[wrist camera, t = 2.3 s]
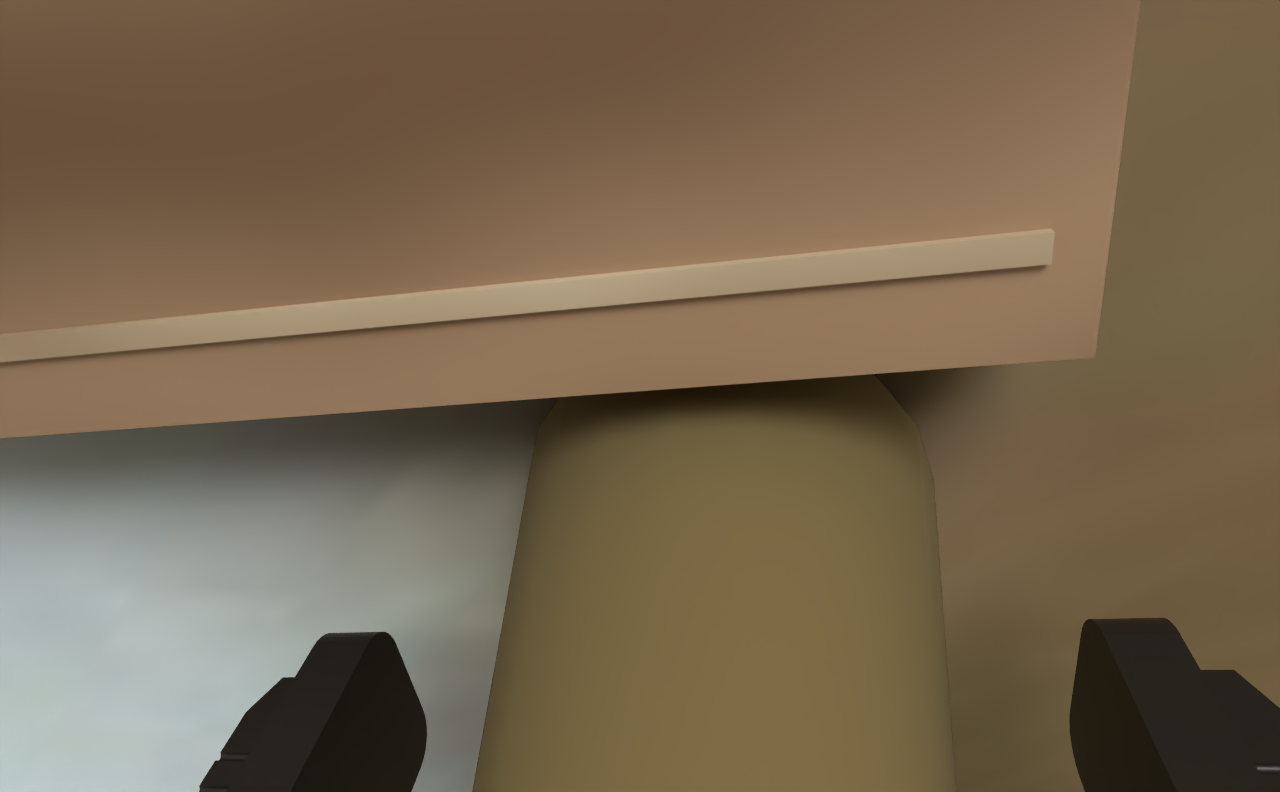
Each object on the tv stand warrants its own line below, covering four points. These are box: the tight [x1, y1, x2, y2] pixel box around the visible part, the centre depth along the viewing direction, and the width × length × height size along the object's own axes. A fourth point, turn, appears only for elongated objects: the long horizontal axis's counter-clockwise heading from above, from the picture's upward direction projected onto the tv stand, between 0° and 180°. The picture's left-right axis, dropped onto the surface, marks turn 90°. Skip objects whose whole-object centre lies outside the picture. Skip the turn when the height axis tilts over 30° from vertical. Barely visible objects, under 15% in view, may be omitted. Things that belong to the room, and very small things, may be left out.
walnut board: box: [0, 0, 1141, 438], centre depth 9 cm, size 8×22×3 cm, turn 98°
